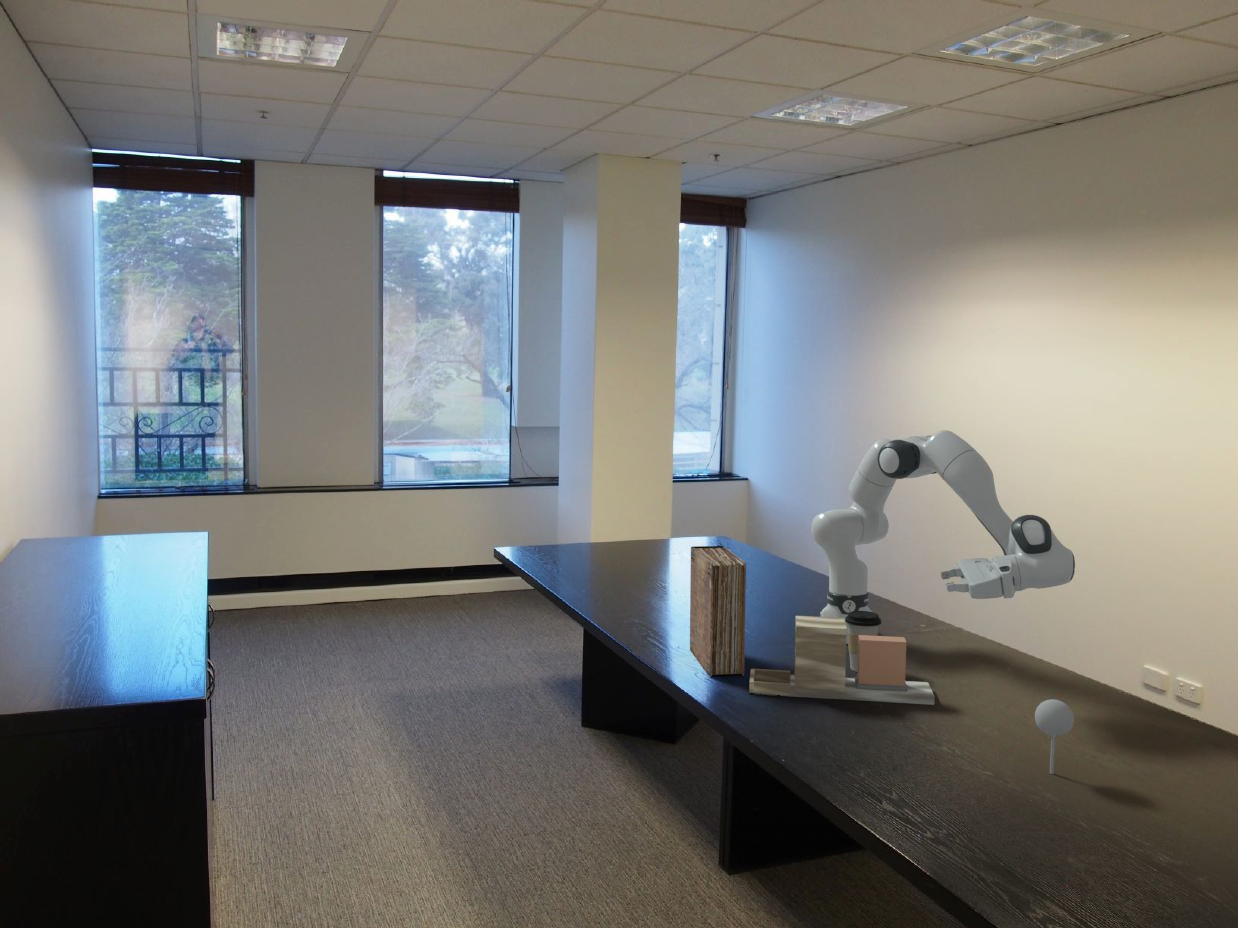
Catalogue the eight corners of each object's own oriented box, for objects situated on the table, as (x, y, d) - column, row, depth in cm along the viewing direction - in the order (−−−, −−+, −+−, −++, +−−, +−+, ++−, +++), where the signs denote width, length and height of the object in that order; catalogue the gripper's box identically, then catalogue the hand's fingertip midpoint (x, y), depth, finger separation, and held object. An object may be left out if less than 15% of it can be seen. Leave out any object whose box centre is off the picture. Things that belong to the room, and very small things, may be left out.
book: (744, 676, 257) (746, 563, 254) (709, 677, 256) (711, 563, 253) (721, 648, 282) (722, 545, 279) (689, 649, 281) (690, 546, 278)
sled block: (854, 680, 247) (856, 633, 246) (904, 683, 245) (905, 636, 244) (856, 688, 241) (858, 640, 240) (907, 691, 239) (909, 643, 238)
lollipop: (1060, 765, 200) (1064, 694, 199) (1077, 780, 193) (1081, 706, 192) (1026, 766, 200) (1029, 694, 199) (1042, 780, 193) (1045, 706, 192)
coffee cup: (854, 675, 258) (856, 619, 256) (837, 665, 267) (838, 611, 265) (886, 673, 260) (888, 617, 259) (868, 662, 269) (870, 608, 268)
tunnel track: (750, 679, 254) (752, 613, 252) (927, 689, 247) (930, 621, 245) (749, 693, 243) (750, 624, 242) (934, 704, 236) (937, 633, 234)
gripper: (993, 549, 247) (936, 556, 249) (1010, 574, 227) (948, 582, 230) (996, 573, 248) (939, 580, 251) (1013, 600, 228) (951, 607, 231)
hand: (943, 581), depth 240 cm, fingers open, 8 cm apart
